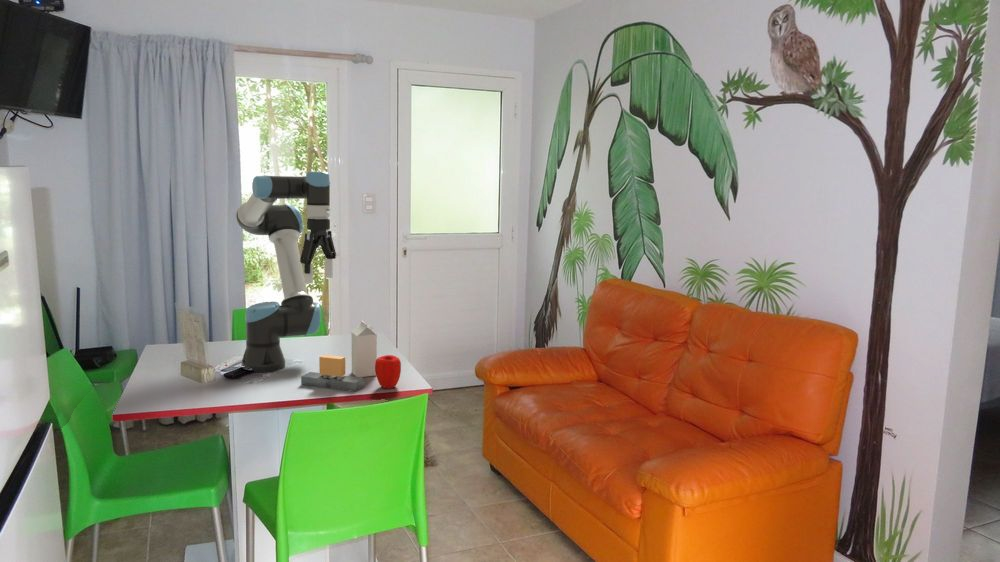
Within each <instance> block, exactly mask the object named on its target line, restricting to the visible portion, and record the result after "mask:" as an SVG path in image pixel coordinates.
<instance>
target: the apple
mask: <svg viewBox="0 0 1000 562" xmlns="http://www.w3.org/2000/svg"><path fill="white" fill-rule="evenodd" d="M375 373H376V380H377V381H378V383H379V385H380V387H381V388H383V387H384V389H386V388H391V389H393V388H392V387H394V388H395V387H397V385H398V383H399V381H400V378H401V373H402V362H401V359H400V358H399V357H397V356H396V355H393V354H391V355H390V354H386V355H382V356H379V357H377V359H376V362H375Z"/></svg>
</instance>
